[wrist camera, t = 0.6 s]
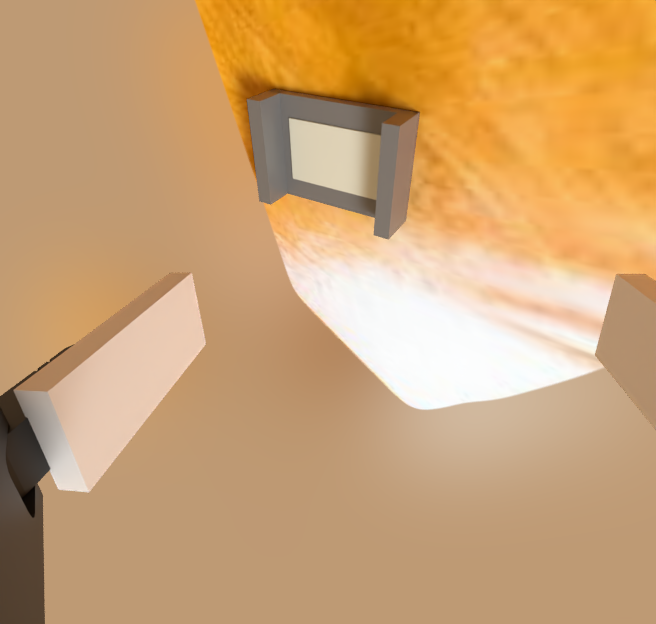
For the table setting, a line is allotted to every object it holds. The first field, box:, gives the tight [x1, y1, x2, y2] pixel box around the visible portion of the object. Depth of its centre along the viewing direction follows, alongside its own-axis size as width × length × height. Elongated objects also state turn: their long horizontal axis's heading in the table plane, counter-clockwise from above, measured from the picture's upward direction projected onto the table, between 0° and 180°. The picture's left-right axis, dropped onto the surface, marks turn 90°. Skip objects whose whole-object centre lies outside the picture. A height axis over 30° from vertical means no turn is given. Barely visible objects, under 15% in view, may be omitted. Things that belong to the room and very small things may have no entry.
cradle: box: [247, 89, 420, 239], centre depth 40 cm, size 10×15×4 cm, turn 90°
